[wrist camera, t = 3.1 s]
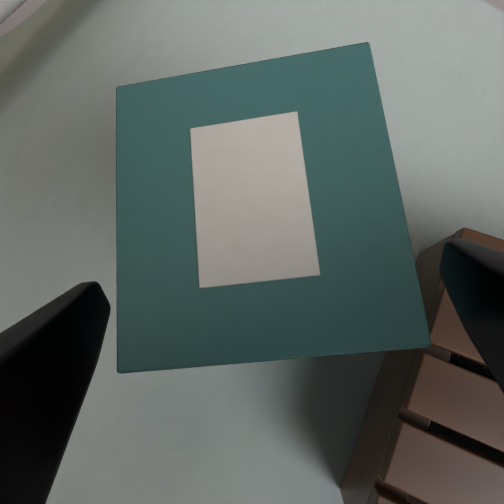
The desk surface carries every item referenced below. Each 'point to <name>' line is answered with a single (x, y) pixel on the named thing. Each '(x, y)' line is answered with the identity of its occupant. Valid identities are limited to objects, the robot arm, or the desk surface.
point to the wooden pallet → (430, 412)
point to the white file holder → (8, 8)
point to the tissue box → (261, 217)
